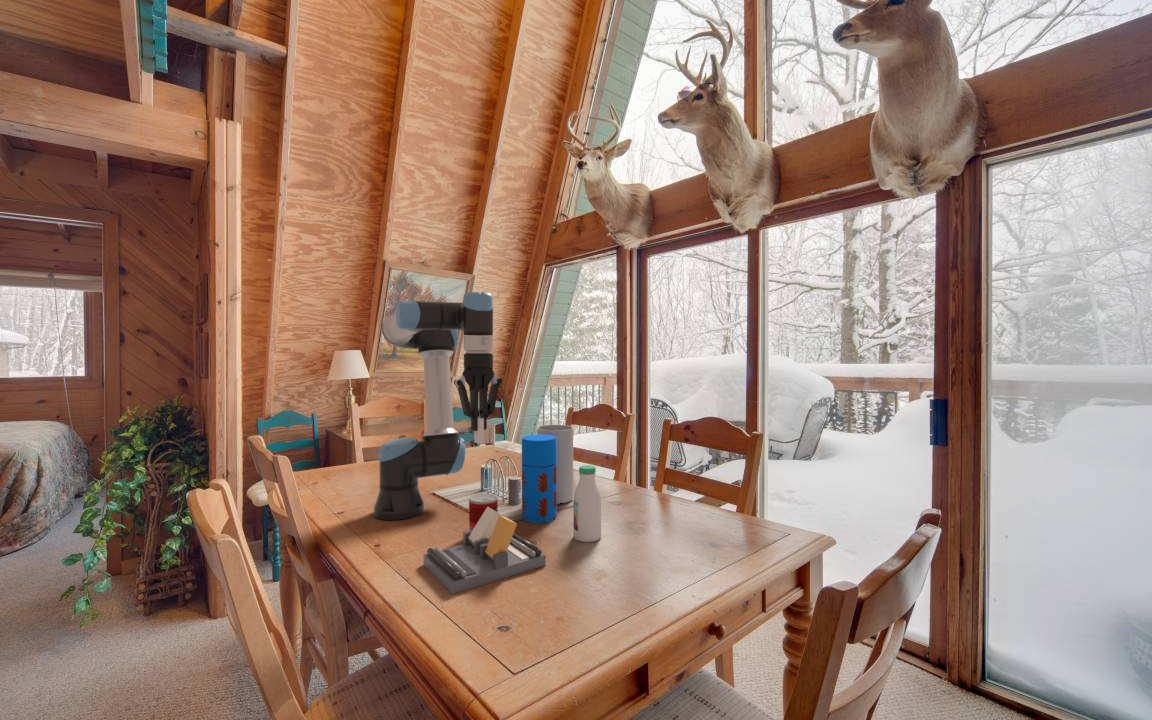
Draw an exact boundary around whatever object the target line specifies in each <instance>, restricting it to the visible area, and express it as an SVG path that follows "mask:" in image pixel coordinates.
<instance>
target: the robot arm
mask: <svg viewBox="0 0 1152 720" xmlns="http://www.w3.org/2000/svg"><path fill="white" fill-rule="evenodd" d="M462 298H463V299H462V302H455V301H454V302H451V301H449V302H448V301H425V300H421V301H420V300H411V299H410V300H399V301H398V302H397V303H396V307H395V313H393V314H391V315H390V316H388V317H387V318H385V320H384V321H383V323H382V326H381V332H382V335H383V338H384V339H385V340H386V342H388V343H389V344H391V345H393V346H394V347H398V348H402V349H407V350H408V349H409V350H410V349H411V350H418V357H420V358H422V360H423V376H424V377H423V378H424V395H425V396H424V397H425V411H426V412H425V413H426V414H425V415H426V430H425V432H424V433H423V434H422V440H421V441H419V439H418V438H417V437H415V436H408V437H400V438H395V439H391V440H388V441H386V442H384V443H382V444H381V446H380V447H379V450H378V451H379V452H378V453H379V454H378V462H379V468H378V469H379V491H378V495H377V497H376V501H375V504H374V507H373V516H374V518H377V519H379V520H383V521H399V520H405V519H410V518H414V517H417V516H419V515H421V514H423V513H424V511H425V503H424V499H423V497H422V494H421V491H420V489H419V478H427V477H428V478H429V477H437V476H444V475H445V476H448V475H451V474H456V473H459V472H460V471H461V470H462V469H463V467H464V463H465V460H466V444H465V439H464V438H463V437H461V436H460V435H459V431H458V430H456V428H454V412H453V411H454V410H453V396H452V394H453V393H452V383H451V382H452V381H451V368H450V367H451V364H450V358H451V356H452V355H453V354H454V350H455V349H457V348H458V346H459V332H458V331H462V332H463V351H464V352H465V353H464V354H463V371H462V374H461V376H460V377H459V378H458V379H455V380H453V383H454V385H455V387H456V389H457V392H458V396H459V400H460V404H461V408H462V412H463V415H464V416H465V417H469V418H470V429H471V431H473V440H474V441H473V443H476V444H478V445H480V444H481V445H482V444H484V443H485V431H486V430H487V427H488V426H487V424H488V421H487V419H488V418H489V416H491V415H494V412H495V408H496V404H497V399H498V394H499V389H500V386H501V385H502V383H503V378H500V377H498V376H497V375H495V372H494V370H493V368H494V354H493V353H491V352H492V351H493V350H494V301H493V295H492V294H491V293H489V292H484V291H482V292H481V291H469V292H468V291H467V292H465V293H464V294H463V297H462ZM490 383H491V385H490ZM466 385H468V390H469V396H468V392H467V388H466ZM489 385H490V388H489ZM488 392H489V393H488Z"/></svg>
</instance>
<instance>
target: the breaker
mask: <svg viewBox="0 0 1152 720" xmlns="http://www.w3.org/2000/svg"><path fill="white" fill-rule="evenodd" d="M499 515H500V516H503V514H501V513H500V512H496V511H494V510H493V509H491V508H489V507H487V508H486V510H485V511H484V513H483V515H482V516H481V518H480V519H479V521H478V523H477V524H476V526H475V527H474V529H473V531H472V532H471V534H470V536H469V537H468V538H469V543H470V544H472V545H473V546H474V541H475V540H479V539H483V538H487V539H488V540H489V538H490V537H491V535H492V533H493V530H494V528H495V525H496V523H497V520H498V517H499ZM474 547H475V546H474Z"/></svg>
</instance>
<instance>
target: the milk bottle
mask: <svg viewBox="0 0 1152 720" xmlns="http://www.w3.org/2000/svg"><path fill="white" fill-rule="evenodd" d="M596 471H597V468H596V466H595V465H589V464H588V465H587V464H585V465H580V466H579V468H578V472H579V473H578V475H579V480H578V483H577V486H576V488H575V490H574V492H573V538H574V539H575V540H576V541H578V542H581V543H591V542H592V543H593V542H597V541H599V540H600V539H601V537H602V499H601V498H602V495H601V492H600V488H599V486H598V484H597V481H596V477H595V476H596Z"/></svg>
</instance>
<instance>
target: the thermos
mask: <svg viewBox="0 0 1152 720" xmlns="http://www.w3.org/2000/svg"><path fill="white" fill-rule="evenodd" d="M556 462H557V441H556V437H555V436H552V435H537V434H527V435H525V436H522V438H521V510H522V511H521V512H522V520H524V521H525V522H528V523H532V524H542V523H543V524H545V523H549V522H553V521H554V520H555V519H556V518H557V507H558V506H557V505H558V504H557V463H556Z"/></svg>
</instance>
